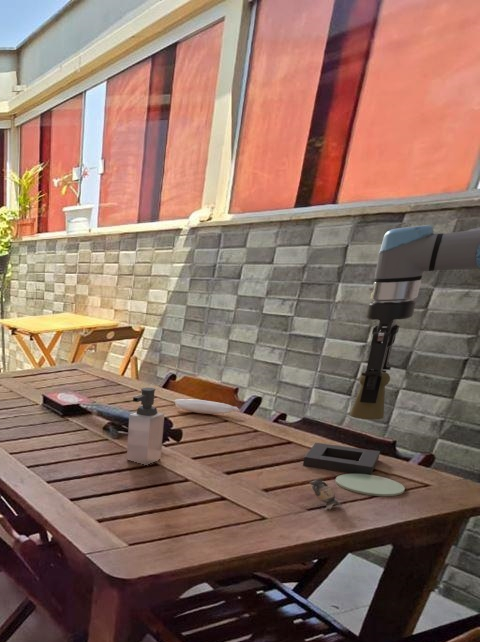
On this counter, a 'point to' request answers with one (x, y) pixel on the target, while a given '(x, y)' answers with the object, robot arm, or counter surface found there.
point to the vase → (324, 493)
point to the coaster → (369, 484)
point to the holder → (320, 459)
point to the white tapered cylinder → (204, 406)
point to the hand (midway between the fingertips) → (370, 399)
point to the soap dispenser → (145, 430)
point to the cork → (370, 409)
